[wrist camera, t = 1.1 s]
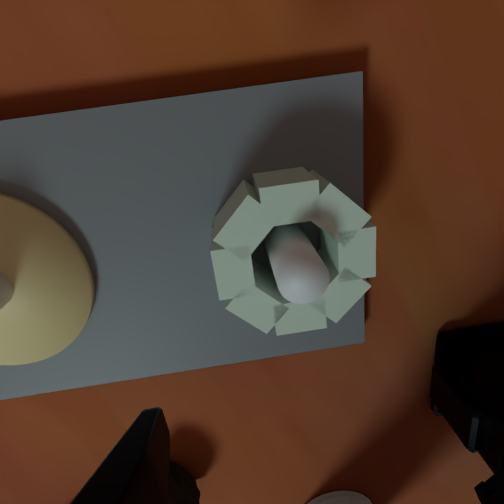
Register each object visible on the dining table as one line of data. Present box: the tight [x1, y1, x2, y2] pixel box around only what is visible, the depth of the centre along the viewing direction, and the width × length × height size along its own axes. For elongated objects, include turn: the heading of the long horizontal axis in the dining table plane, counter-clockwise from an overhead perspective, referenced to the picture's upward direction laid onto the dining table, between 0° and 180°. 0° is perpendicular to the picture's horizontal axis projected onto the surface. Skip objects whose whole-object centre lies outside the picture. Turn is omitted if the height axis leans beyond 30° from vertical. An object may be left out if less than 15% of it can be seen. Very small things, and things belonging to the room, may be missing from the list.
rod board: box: [0, 71, 365, 400], centre depth 16 cm, size 22×14×6 cm, turn 97°
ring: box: [210, 167, 376, 336], centre depth 17 cm, size 7×7×3 cm
